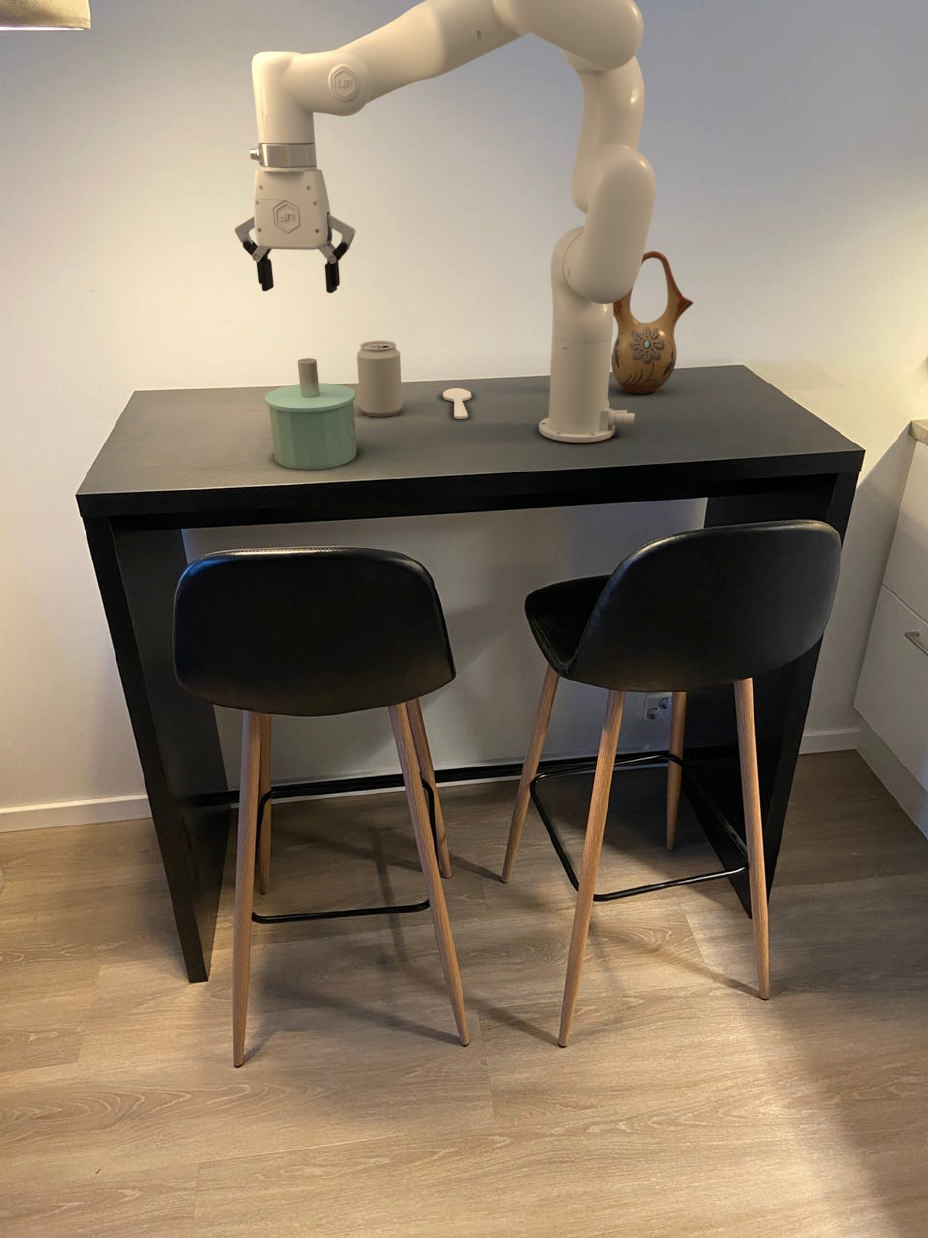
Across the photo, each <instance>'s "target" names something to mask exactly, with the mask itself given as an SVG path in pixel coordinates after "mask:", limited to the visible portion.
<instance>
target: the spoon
mask: <svg viewBox="0 0 928 1238" xmlns="http://www.w3.org/2000/svg"><path fill="white" fill-rule="evenodd" d="M442 398H443V399H444V400H446V401H449V402H453V403H454V404H453V417H454V418H455V419H456V420H457V419H458V420H463V419H467V418H468V417H469V415H468V412H467V409H466V407H465V404H464V402H465V401H468V400H470V399H472V393H471V391H469V390H467V389H465V388H461V387H460V388H459V387H456V388H455V387H453V388H449V389H446V390H444V391H443V393H442Z"/></svg>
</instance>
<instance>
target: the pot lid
mask: <svg viewBox="0 0 928 1238" xmlns="http://www.w3.org/2000/svg"><path fill="white" fill-rule="evenodd" d="M297 369H298V378H299V380H298V381H299V383H298V384H291V385H287V386H281V387H278V388H275V389H274V390H271V391H269V392H267V393H266V394H265V396H264V402H265V404H266V406H268V408H269V407H271V408H274V409H278V410H282V411H290V412H316V411H325V410H331V409H336V408H340V407H343V406H346V405H348V404H350V403H351V402H353V403H354V401H355V400H356V392H355V390H354V389H353V388H351V387H348V386H346V385H341V384H338V383H337V384H336V383H325V382H320V381H319V371H318V360H317V359H316V358H313V357H312V358H309V357H308V358H301V359H298V360H297Z"/></svg>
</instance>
